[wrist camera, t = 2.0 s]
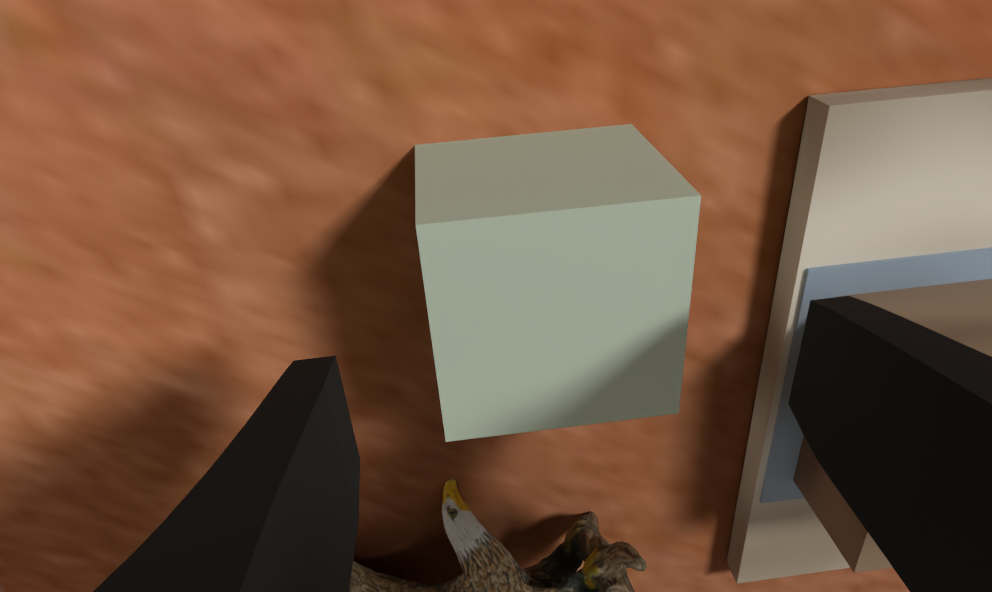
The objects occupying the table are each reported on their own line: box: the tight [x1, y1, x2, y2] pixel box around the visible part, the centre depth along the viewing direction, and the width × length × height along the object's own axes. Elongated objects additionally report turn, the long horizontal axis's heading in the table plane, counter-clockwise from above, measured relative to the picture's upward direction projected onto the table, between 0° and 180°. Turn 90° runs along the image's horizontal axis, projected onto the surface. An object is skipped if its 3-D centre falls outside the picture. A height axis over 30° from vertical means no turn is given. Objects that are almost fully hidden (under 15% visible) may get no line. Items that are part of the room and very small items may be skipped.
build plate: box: [727, 78, 992, 583], centre depth 18 cm, size 15×12×1 cm
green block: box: [415, 124, 701, 442], centre depth 13 cm, size 4×4×4 cm
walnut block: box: [793, 279, 992, 573], centre depth 16 cm, size 6×6×3 cm
